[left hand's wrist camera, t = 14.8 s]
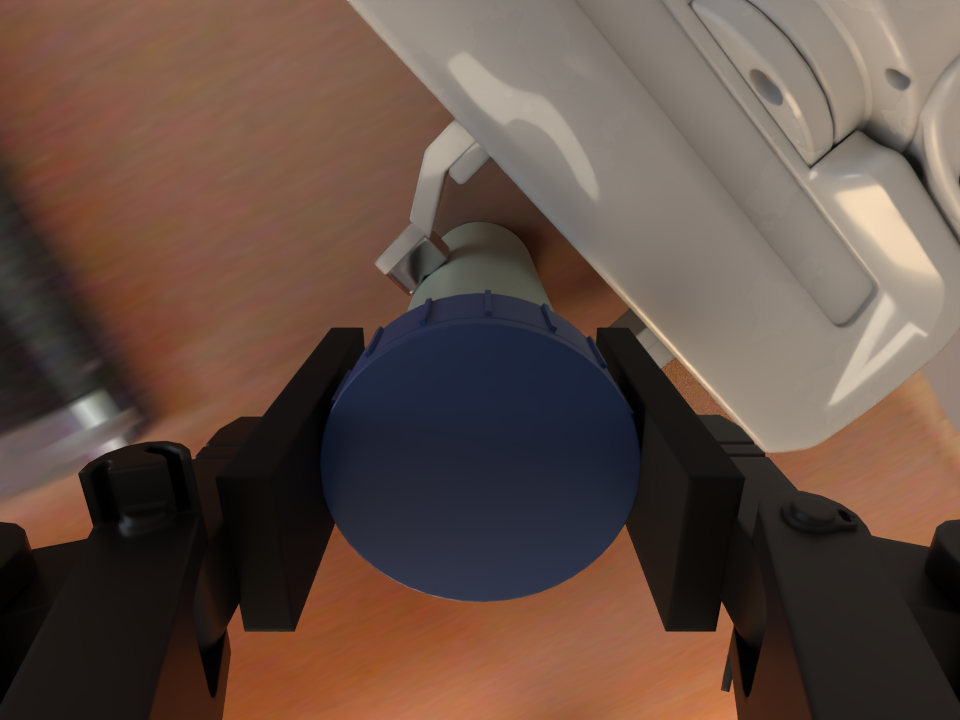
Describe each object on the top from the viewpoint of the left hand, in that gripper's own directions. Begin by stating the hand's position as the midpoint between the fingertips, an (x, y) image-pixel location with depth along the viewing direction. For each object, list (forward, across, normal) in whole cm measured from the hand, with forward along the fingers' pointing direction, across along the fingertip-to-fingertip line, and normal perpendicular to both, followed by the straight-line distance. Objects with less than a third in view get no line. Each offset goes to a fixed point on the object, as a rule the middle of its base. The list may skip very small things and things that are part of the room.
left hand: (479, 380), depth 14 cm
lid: (-4, 0, 0) cm, 4 cm away
